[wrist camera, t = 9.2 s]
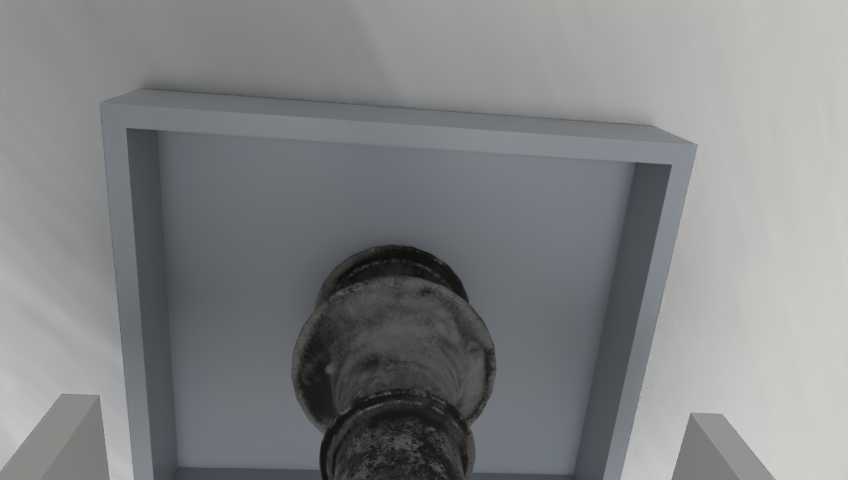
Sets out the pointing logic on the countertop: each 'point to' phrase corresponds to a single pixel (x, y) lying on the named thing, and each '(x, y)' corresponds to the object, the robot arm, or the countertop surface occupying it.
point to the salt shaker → (394, 369)
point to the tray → (371, 227)
